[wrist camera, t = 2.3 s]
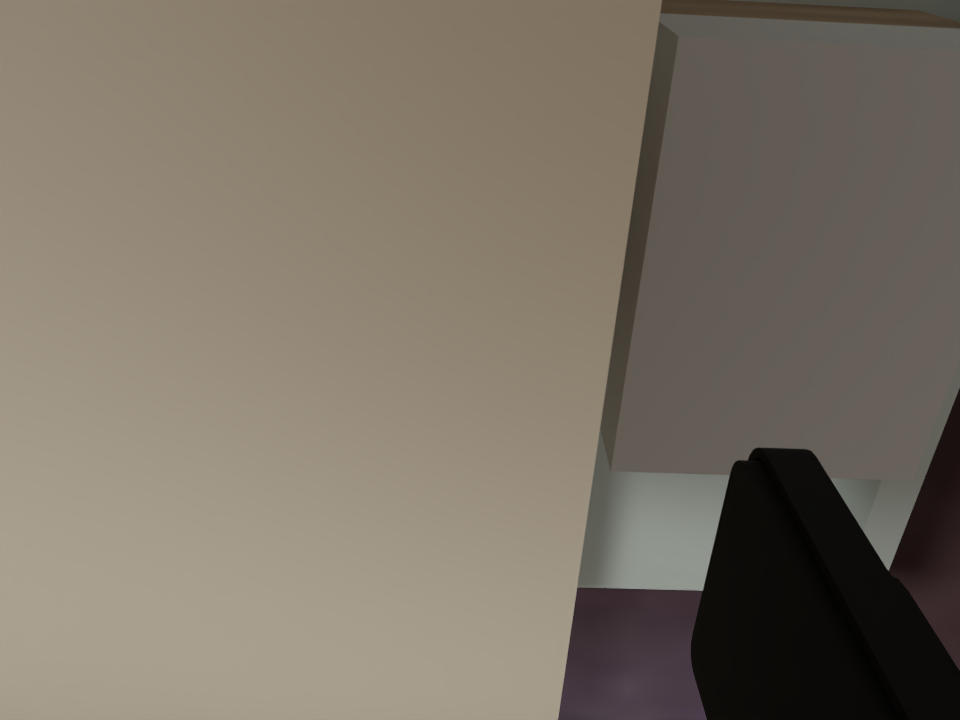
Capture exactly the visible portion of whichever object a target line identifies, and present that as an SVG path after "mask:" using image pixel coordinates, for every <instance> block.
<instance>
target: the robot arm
mask: <svg viewBox="0 0 960 720" xmlns="http://www.w3.org/2000/svg"><path fill="white" fill-rule="evenodd" d="M691 661H692V668H693V672H694V676H695V680H696V683H697V686H698V690H699V693H700V697H701V700H702V703H703V707H704V710H705V714H706V717H707V720H960V671H959V669H958V668H957V666H956V665H955V663H954V662H953V660H952V659H951V657H950V655H949V654H948V652H947V651H946V649H945V648H944V646H943V644H942V643H941V641H940V640H939V638H938V637H937V635H936V634H935V632H934V630H933V629H932V627H931V626H930V624H929V623H928V621H927V619H926V618H925V616H924V615H923V613H922V612H921V610H920V608H919V607H918V605H917V604H916V602H915V601H914V599H913V598H912V596H911V594H910V593H909V591H908V590H907V589H906V588H905V586H904V585H903V584H902V583H901V582H900V581H899V579H897V578H895V577H893V576H891V575H890V573H889V571H888V570H887V568H886V567H885V565H884V563H883V562H882V560H881V559H880V557H879V555H878V554H877V552H876V551H875V549H874V548H873V546H872V544H871V543H870V541H869V540H868V538H867V536H866V535H865V533H864V532H863V530H862V528H861V527H860V525H859V524H858V522H857V520H856V519H855V517H854V516H853V514H852V513H851V511H850V509H849V508H848V506H847V505H846V503H845V501H844V500H843V498H842V497H841V495H840V493H839V492H838V490H837V489H836V487H835V485H834V484H833V482H832V481H831V479H830V478H829V476H828V474H827V473H826V471H825V470H824V468H823V466H822V465H821V463H820V462H819V460H818V458H817V457H816V456H815V454H814V453H813V452H812V451H811V450H807V449H790V448H760V447H757V448H755V449H753V451H752V452H751V454H750V455H749V458H748V460H738V461H736V462H735V463H734V464H733V466H732V469H731V472H730V476H729V481H728V485H727V489H726V493H725V498H724V502H723V506H722V511H721V515H720V519H719V523H718V528H717V532H716V536H715V541H714V545H713V549H712V553H711V558H710V562H709V566H708V571H707V575H706V579H705V584H704V588H703V592H702V596H701V601H700V605H699V609H698V614H697V618H696V622H695V626H694V631H693V635H692V641H691Z"/></svg>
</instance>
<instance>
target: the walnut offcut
mask: <svg viewBox="0 0 960 720" xmlns="http://www.w3.org/2000/svg"><path fill="white" fill-rule="evenodd" d="M660 13H664V14H684V15H703V16H723V17H742V18H761V19H781V20H800V21H820V22H839V23H858V24H878V25H897V26H917V27H936V28H956V29H960V22H957V21H953V20H950V19H947V18H943V17H940V16H937V15H933V14H930V13H926V12H923V11H920V10H902V9H883V8H864V7H844V6H825V5H806V4H787V3H768V2H749V1H730V0H662V4H661V11H660Z"/></svg>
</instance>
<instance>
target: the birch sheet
mask: <svg viewBox="0 0 960 720" xmlns="http://www.w3.org/2000/svg"><path fill="white" fill-rule="evenodd" d="M661 4H662V0H0V720H558V716H559V709H560V702H561V695H562V688H563V681H564V674H565V667H566V660H567V653H568V646H569V640H570V633H571V626H572V619H573V612H574V605H575V598H576V591H577V584H578V577H579V571H580V564H581V557H582V550H583V543H584V536H585V529H586V522H587V515H588V508H589V501H590V495H591V488H592V481H593V474H594V467H595V460H596V453H597V446H598V439H599V432H600V426H601V419H602V412H603V405H604V398H605V391H606V384H607V377H608V370H609V363H610V356H611V350H612V343H613V336H614V329H615V322H616V315H617V308H618V301H619V294H620V287H621V280H622V274H623V267H624V260H625V253H626V246H627V239H628V232H629V225H630V218H631V211H632V205H633V198H634V191H635V184H636V177H637V170H638V163H639V156H640V149H641V142H642V135H643V129H644V122H645V115H646V108H647V101H648V94H649V87H650V80H651V73H652V66H653V60H654V53H655V46H656V39H657V32H658V25H659V18H660V11H661Z"/></svg>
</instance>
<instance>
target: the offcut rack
mask: <svg viewBox="0 0 960 720" xmlns="http://www.w3.org/2000/svg"><path fill="white" fill-rule="evenodd" d="M730 1H749V2H768V3H787V4H806V5H825V6H844V7H864V8H883V9H902V10H920V11H923V12H926V13H930V14H933V15H937V16H940V17H943V18H947V19H950V20H953V21H957V22H960V0H730ZM959 388H960V359H959V361H958V364H957V366H956V369H955V372H954V374H953V377H952V380H951V382H950V385H949V388H948V390H947V393H946V395H945V398H944V401H943V403H942V406H941V409H940V411H939V414H938V416H937V419H936V422H935V424H934V427H933V430H932V432H931V435H930V438H929V440H928V443H927V445H926V448H925V451H924V453H923V456H922V459H921V461H920V464H919V466H918V469H917V472H916V474H915V477H914V480H913V481H902V480H870V479H838V478H830V479H831V481H832V482H833V484H834V485H835V487H836V489H837V490H838V492H839V493H840V495H841V497H842V498H843V500H844V501H845V503H846V505H847V506H848V508H849V509H850V511H851V513H852V514H853V516H854V517H855V519H856V520H857V522H858V524H859V525H860V527H861V528H862V530H863V532H864V533H865V535H866V536H867V538H868V540H869V541H870V543H871V544H872V546H873V548H874V549H875V551H876V552H877V554H878V555H879V557H880V559H881V560H882V562H883V563H884V565H885V567H886V568H887V570H888V571H889V569H890V566H891V563H892V561H893V558H894V556H895V553H896V551H897V548H898V545H899V543H900V540H901V538H902V535H903V532H904V530H905V527H906V525H907V522H908V520H909V517H910V514H911V512H912V509H913V507H914V504H915V502H916V499H917V496H918V494H919V491H920V489H921V486H922V484H923V481H924V478H925V476H926V473H927V471H928V468H929V465H930V463H931V460H932V458H933V455H934V453H935V450H936V447H937V445H938V442H939V440H940V437H941V435H942V432H943V429H944V427H945V424H946V422H947V419H948V416H949V414H950V411H951V409H952V406H953V404H954V401H955V398H956V396H957V393H958V391H959ZM729 476H730V475H708V474H676V473H644V472H612V471H610V467H609V463H608V459H607V455H606V451H605V447H604V442H603V438H602V434H601V430H600V432H599V439H598V446H597V453H596V460H595V467H594V474H593V481H592V488H591V495H590V501H589V508H588V515H587V522H586V529H585V536H584V543H583V550H582V557H581V564H580V571H579V577H578V584H577V587H588V588H626V589H665V590H703V588H704V584H705V579H706V575H707V571H708V566H709V562H710V558H711V553H712V549H713V545H714V541H715V536H716V532H717V528H718V523H719V519H720V515H721V511H722V506H723V502H724V498H725V493H726V489H727V485H728V481H729Z"/></svg>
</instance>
